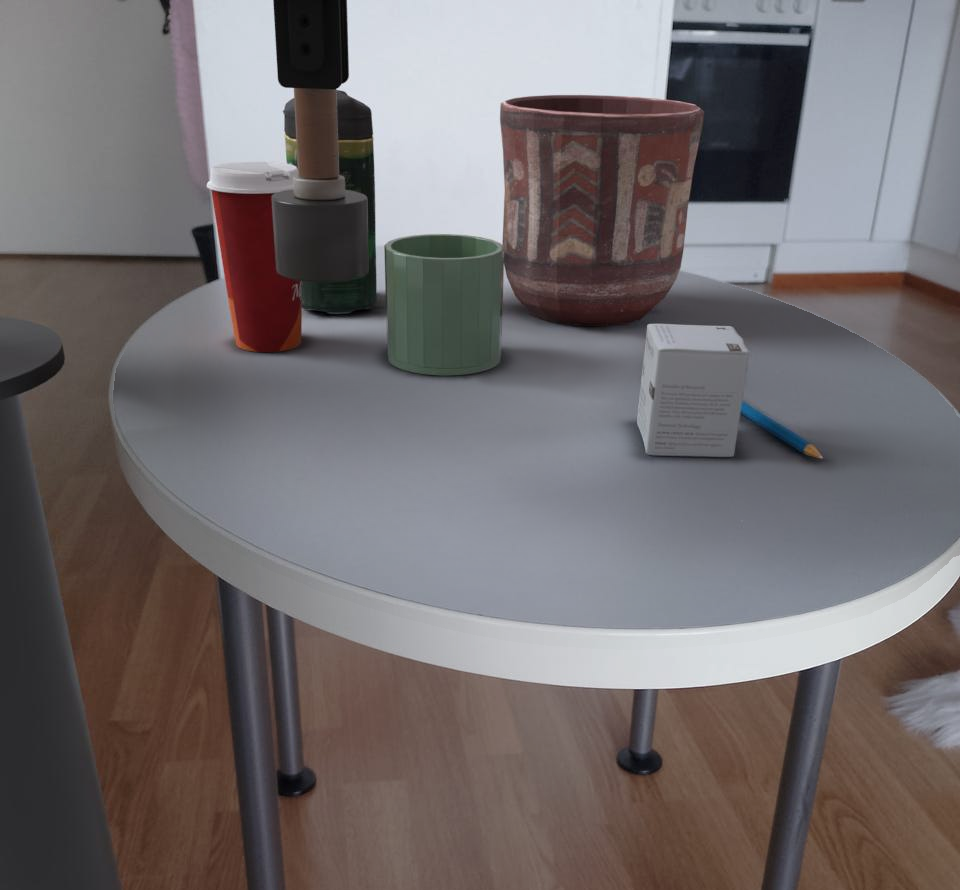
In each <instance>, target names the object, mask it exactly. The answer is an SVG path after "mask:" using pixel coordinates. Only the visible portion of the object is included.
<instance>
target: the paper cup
mask: <svg viewBox="0 0 960 890" xmlns="http://www.w3.org/2000/svg"><path fill="white" fill-rule="evenodd" d="M209 173H210V174H209V175H210V176H209V180H208V181H207V183H206V188H207V189H209V190H210V191H211V197H212V204H213V210H214V217H215V223H216V230H217V231H216V232H217V237H218V243H219V249H220V255H221V260H222V261H221V262H222V268H223V275H224V281H225V288H226V293H227V299H228V306H229V313H230V319H231V324H232V330H233V335H234V340H235V344H236V346H237V348H239V349H241V350H243V351H247V352H252V353H253V352H254V353H279V352H285V351H289V350H293V349H295V348H297V347H299V346H300V345H301V343H302V331H303V330H302V329H303V327H302V325H303V324H302V323H303V322H302V321H303V319H302V318H303V313H302V312H303V311H302V310H303V308H302V287H301V281H299V280H293V279H289V278H286V277H283V276H281V275H279V274H278V273H277V271H276V261H275V245H274V230H273V214H272V195H273V194H275V193H277V192H280V191H284V190H290V189H293V176H294V175H297V174H298V169H297V167H296V166H294V165H290V164H287V163H283V162H273V161H238V162H228V163H221V164H217V165H214V166H212V167H211V168H210V172H209Z"/></svg>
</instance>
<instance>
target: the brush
mask: <svg viewBox="0 0 960 890" xmlns="http://www.w3.org/2000/svg"><path fill="white" fill-rule="evenodd" d="M336 90H337V89H334V90H333V89H307V88H293V95H294V96H293V98H294V103H295V122H296V142H297V161H298V174H297V175H294V176H293V189H290V190H284V191H280V192H277V193H275V194H273V195H272V214H273V230H274V245H275V261H276V271H277V273H278V274H279V275H281V276H283V277H286V278H289V279H293V280H299V281H307V282H339V281H347V280H353V279H357V278H360V277H363V276H365V275H366V274H367V273H368V271H369V256H368V206H367V197H366V196H365V195H364V194H361V193H359V192H355V191H350V190H345V178H344V176H342V175H339V156H338V126H337V95H336Z"/></svg>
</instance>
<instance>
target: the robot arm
mask: <svg viewBox="0 0 960 890" xmlns="http://www.w3.org/2000/svg"><path fill="white" fill-rule="evenodd" d="M272 1H273V20H274V37H275V39H274V40H275V51H276V53H275V54H276V55H275V56H276V73H277V81H278V84H279V85H280V86H281V87H282V88H287V89H294V88H307V89H333V90H334V89H336V90H338V89H339V88H340V87H341V86H342V85H343V84H345V83H347V82H348V80H349V79H350V66H349V62H350V60H349V59H350V58H349V30H348V29H349V27H348V26H349V24H348V23H349V21H348V0H272Z"/></svg>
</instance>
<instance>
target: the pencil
mask: <svg viewBox="0 0 960 890" xmlns="http://www.w3.org/2000/svg"><path fill="white" fill-rule="evenodd" d="M740 415H742V416H744V417H746V418H747V419H749V420H750V421H752V422H754V423H755V424H757V425H758V426H760V427H762V428H763V429H765V430H766V431H768V432H770V433H771V434H773V435H774V436H776V438H778V439H780V440H782V441H783V442H785V443H786V444H788V445H789V446H791V447H792V448H794V449H796V450H798V451H799V452H800V453H802V454H804V455H805V456H810V457H814V458H818V459H824V457H823V455H822V454H821V453H820V452H819V450H818V449H817V448H816V447H815V445H813V443H812V442H810V441H808V440H806V439H805V438H804V437H802V436H800V435H799V434H796V433H795V432H793V431H792V430H790V429H789V428H787V427H786V426H784V425H782V424H781V423H779V422H777V421H776V420H774V419H772V418H771V417H769V416H768V415H766V414H765V413H763V412H761V411H760V410H758V409H757V408H755V407H753V406H751V405H750V404H749V403H747V402H746V401H744V400H742V406H741V412H740Z"/></svg>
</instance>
